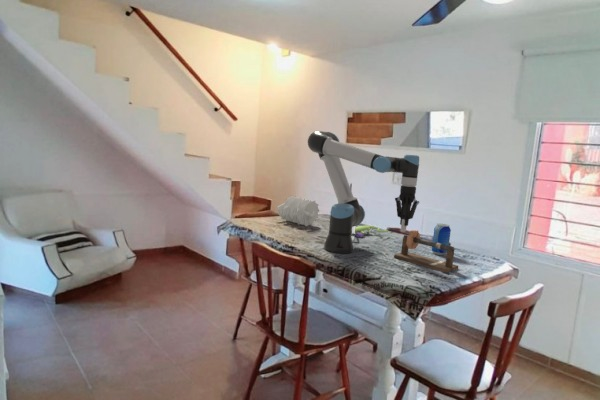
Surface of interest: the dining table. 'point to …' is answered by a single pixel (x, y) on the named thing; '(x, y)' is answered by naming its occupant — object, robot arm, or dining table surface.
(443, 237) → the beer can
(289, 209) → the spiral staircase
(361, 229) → the figurine
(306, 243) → the dining table surface
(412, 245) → the ring
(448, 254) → the pipe stand
